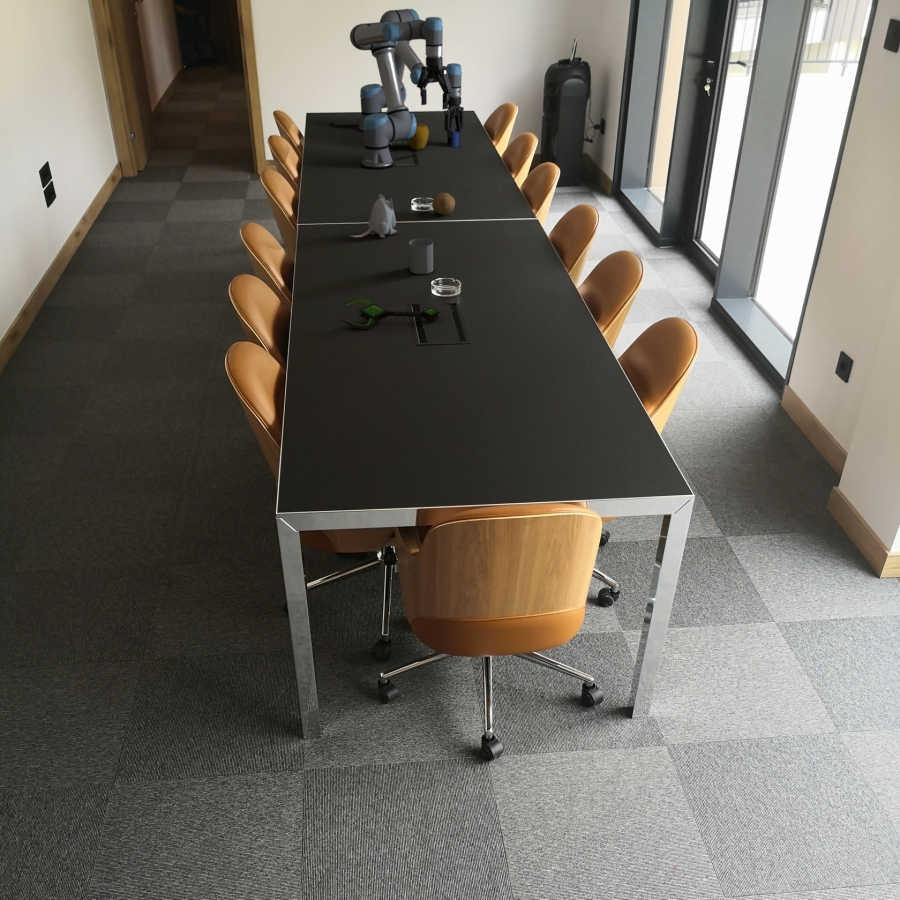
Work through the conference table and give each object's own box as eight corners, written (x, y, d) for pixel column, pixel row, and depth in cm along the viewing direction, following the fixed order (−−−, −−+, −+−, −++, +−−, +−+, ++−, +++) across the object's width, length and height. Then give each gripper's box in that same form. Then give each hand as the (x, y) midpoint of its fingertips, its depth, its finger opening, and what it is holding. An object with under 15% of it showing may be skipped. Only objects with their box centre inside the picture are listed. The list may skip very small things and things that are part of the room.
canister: (459, 146, 459) (460, 133, 456) (449, 147, 459) (449, 133, 455) (458, 144, 464) (458, 130, 460) (447, 144, 463) (447, 131, 460)
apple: (428, 151, 450) (427, 125, 443) (407, 151, 450) (406, 125, 443) (429, 146, 459) (428, 121, 452) (408, 146, 459) (408, 120, 452)
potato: (453, 208, 369) (453, 189, 365) (456, 218, 357) (456, 199, 353) (431, 208, 368) (430, 189, 364) (432, 218, 356) (432, 199, 352)
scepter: (439, 293, 272) (343, 290, 270) (440, 323, 265) (342, 321, 263) (438, 306, 277) (344, 304, 275) (439, 336, 270) (342, 334, 268)
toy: (402, 233, 342) (401, 194, 333) (358, 248, 327) (355, 208, 319) (387, 227, 347) (385, 190, 339) (342, 242, 332) (339, 203, 324)
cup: (409, 265, 311) (408, 238, 306) (432, 265, 312) (431, 238, 307) (410, 274, 304) (409, 246, 299) (433, 273, 305) (433, 246, 299)
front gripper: (460, 58, 379) (460, 109, 390) (420, 52, 393) (421, 101, 405) (448, 60, 374) (448, 112, 386) (408, 54, 389) (409, 104, 400)
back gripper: (448, 100, 440) (448, 147, 452) (470, 94, 452) (470, 140, 465) (436, 98, 444) (437, 144, 456) (459, 92, 456) (459, 138, 469)
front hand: (434, 106), depth 395 cm, fingers open, 13 cm apart
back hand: (453, 142), depth 460 cm, fingers closed on canister, 6 cm apart
